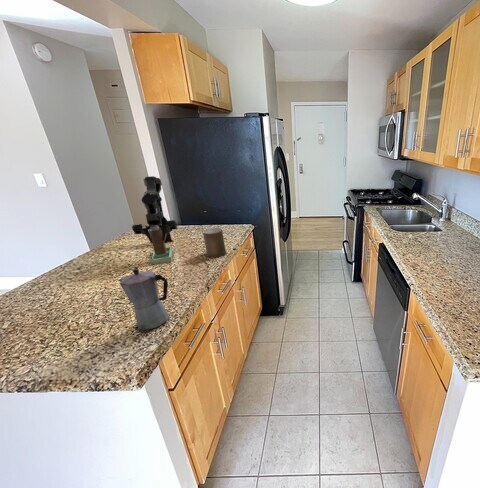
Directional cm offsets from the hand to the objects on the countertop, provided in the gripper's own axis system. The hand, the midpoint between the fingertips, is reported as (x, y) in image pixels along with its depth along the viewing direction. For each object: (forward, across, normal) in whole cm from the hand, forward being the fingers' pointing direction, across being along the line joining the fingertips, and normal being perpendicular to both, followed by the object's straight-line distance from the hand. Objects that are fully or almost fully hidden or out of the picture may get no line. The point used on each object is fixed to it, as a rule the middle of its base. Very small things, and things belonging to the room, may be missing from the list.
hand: (157, 241), depth 129 cm
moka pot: (+46, 0, -31) cm, 55 cm away
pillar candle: (+10, +26, +6) cm, 28 cm away
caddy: (+4, 0, +11) cm, 12 cm away
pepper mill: (+4, 0, +6) cm, 7 cm away
